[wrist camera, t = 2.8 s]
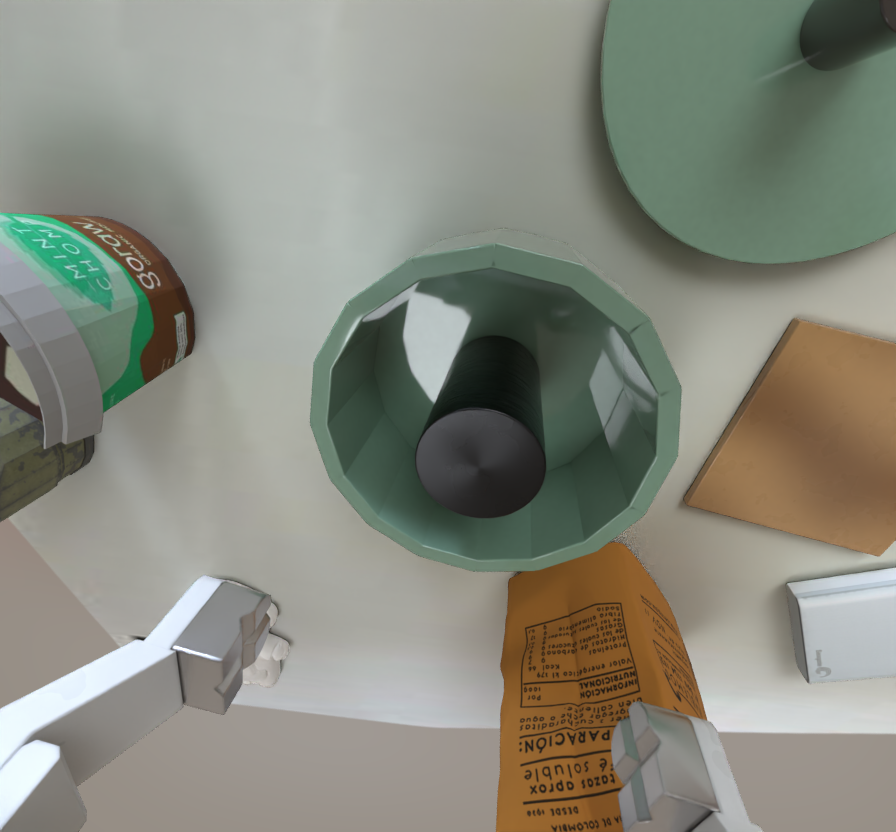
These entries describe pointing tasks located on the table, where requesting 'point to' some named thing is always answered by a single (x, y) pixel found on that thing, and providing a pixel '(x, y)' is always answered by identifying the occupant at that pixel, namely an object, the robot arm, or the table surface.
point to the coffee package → (581, 686)
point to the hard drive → (845, 626)
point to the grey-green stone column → (32, 459)
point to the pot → (562, 392)
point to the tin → (485, 432)
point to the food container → (84, 318)
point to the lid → (755, 122)
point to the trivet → (813, 442)
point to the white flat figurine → (266, 655)
